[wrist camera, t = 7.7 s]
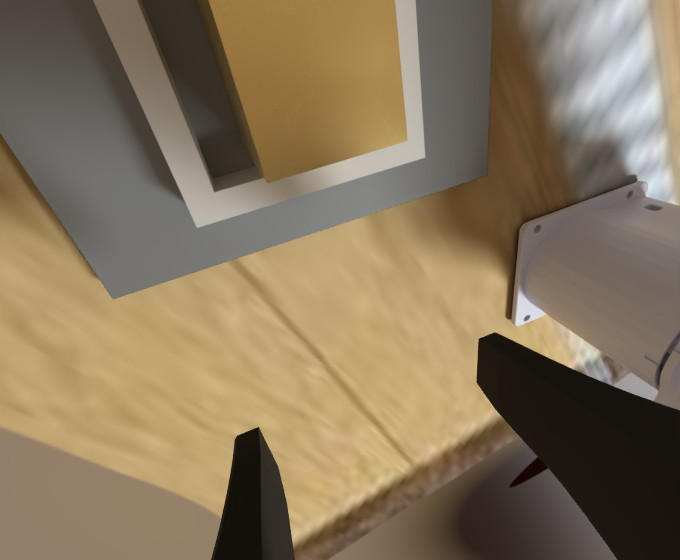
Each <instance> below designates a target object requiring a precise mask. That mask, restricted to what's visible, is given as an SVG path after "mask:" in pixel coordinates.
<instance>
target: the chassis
mask: <svg viewBox="0 0 680 560" xmlns="http://www.w3.org/2000/svg"><path fill="white" fill-rule="evenodd" d="M395 6H396V17H397V28H398V39H399V50H400V61H401V72H402V83H403V94H404V105H405V116H406V127H407V138H408V141H406V142H403V143H400V144H396V145H393V146H390V147H386V148H383V149H380V150H376V151H373V152H370V153H367V154H363V155H360V156H357V157H353V158H350V159H347V160H343V161H340V162H337V163H334V164H330V165H327V166H324V167H320V168H317V169H314V170H311V171H307V172H304V173H301V174H297V175H294V176H291V177H287V178H284V179H281V180H278V181H274V182H271V183H268V184H267V183H266V181H265V179H264V178H263V176H262V175H261V173H260V171H259V170H258V168H257V167H256V165H255V164H254V162H253V160H252V159H251V157H250V156H249V154H248V152H247V151H246V149H245V147H244V144H243V141H242V139H241V136H240V133H239V130H238V127H237V124H236V121H235V118H234V115H233V112H232V109H231V106H230V103H229V100H228V97H227V94H226V91H225V88H224V85H223V82H222V79H221V76H220V73H219V70H218V67H217V64H216V61H215V58H214V55H213V52H212V49H211V46H210V43H209V40H208V37H207V34H206V31H205V29H204V26H203V23H202V20H201V17H200V14H199V11H198V8H197V5H196V2H195V0H0V134H1V135H2V137H3V138H4V140H5V141H6V143H7V144H8V146H9V147H10V149H11V150H12V152H13V153H14V155H15V156H16V158H17V159H18V160H19V162H20V163H21V165H22V166H23V168H24V169H25V171H26V172H27V174H28V175H29V177H30V178H31V180H32V181H33V182H34V184H35V185H36V187H37V188H38V190H39V191H40V193H41V194H42V196H43V197H44V199H45V200H46V202H47V203H48V205H49V206H50V207H51V209H52V210H53V212H54V213H55V215H56V216H57V218H58V219H59V221H60V222H61V224H62V225H63V227H64V228H65V229H66V231H67V232H68V234H69V235H70V237H71V238H72V240H73V241H74V243H75V244H76V246H77V247H78V249H79V250H80V251H81V253H82V254H83V256H84V257H85V259H86V260H87V262H88V263H89V265H90V266H91V268H92V269H93V271H94V272H95V274H96V275H97V276H98V278H99V279H100V281H101V282H102V284H103V285H104V287H105V288H106V290H107V291H108V293H109V294H110V296H111V297H112V298H113V299H115V298H118V297H121V296H125V295H128V294H131V293H134V292H137V291H140V290H143V289H146V288H149V287H152V286H155V285H158V284H161V283H164V282H167V281H170V280H173V279H176V278H179V277H182V276H185V275H188V274H191V273H194V272H197V271H200V270H203V269H206V268H209V267H212V266H215V265H218V264H221V263H224V262H227V261H230V260H234V259H237V258H240V257H243V256H246V255H249V254H252V253H255V252H258V251H261V250H264V249H267V248H270V247H273V246H276V245H279V244H282V243H285V242H288V241H291V240H294V239H297V238H300V237H303V236H306V235H309V234H312V233H315V232H318V231H321V230H324V229H327V228H330V227H333V226H336V225H339V224H343V223H346V222H349V221H352V220H355V219H358V218H361V217H364V216H367V215H370V214H373V213H376V212H379V211H382V210H385V209H388V208H391V207H394V206H397V205H400V204H403V203H406V202H409V201H412V200H415V199H418V198H421V197H424V196H427V195H430V194H433V193H436V192H439V191H442V190H445V189H448V188H452V187H455V186H458V185H461V184H464V183H467V182H470V181H473V180H476V179H479V178H482V177H485V176H487V170H488V140H489V110H490V79H491V49H492V18H493V0H395Z"/></svg>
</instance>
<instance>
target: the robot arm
mask: <svg viewBox="0 0 680 560" xmlns="http://www.w3.org/2000/svg"><path fill="white" fill-rule="evenodd" d="M647 189H648V184H647V182H644V181H638V182H635V183H632V184H630V185H627V186H624V187H621V188H619V189H616V190H613V191H610V192H608V193H605V194H602V195H599V196H597V197H594V198H591V199H588V200H586V201H583V202H580V203H578V204H575V205H572V206H569V207H567V208H564V209H561V210H558V211H556V212H553V213H550V214H547V215H545V216H542V217H539V218H536V219H534V220H531V221H528V222H526V223H524V224H523V225H522V226H521V228H520V231H519V242H518V253H517V264H516V275H515V286H514V297H513V308H512V319H511V321H512V323H513V324H514V325H515V326H520V325H523V324H525V323H527V322H530V321H532V320H534V319H537V318H539V317H542V316H544V315H546V314H547V315H549V316H550V317H551V318H553V319H554V320H556V321H557V322H559V323H560V324H562V325H563V326H565V327H566V328H568V329H569V330H570V331H572V332H573V333H575V334H576V335H578V336H579V337H581V338H582V339H584V340H585V341H586V342H588V343H589V344H591V345H592V346H594V347H595V348H597V349H598V350H600V351H601V352H603V353H604V354H605V355H607V356H608V357H610V358H611V359H613V360H614V361H616V362H617V363H619V364H620V365H622V366H623V367H624V368H626V369H627V370H629V371H630V372H632V373H633V374H635V375H636V376H638V377H639V378H640V379H642V380H643V381H645V382H646V383H648V384H649V385H651V386H652V387H654V388H655V389H657V390H658V394H657V396H656V398H655V399H654V401H651V400H648V399H645V398H642V397H640V396H637V395H634V394H631V393H629V392H626V391H623V390H621V389H618V388H616V387H613V386H611V385H609V384H606V383H604V382H601V381H599V380H596V379H594V378H592V377H589V376H587V375H585V374H582V373H580V372H578V371H576V370H573V369H571V368H569V367H567V366H564V365H562V364H560V363H558V362H556V361H554V360H552V359H549V358H547V357H545V356H543V355H541V354H539V353H537V352H535V351H533V350H531V349H529V348H527V347H525V346H523V345H520V344H518V343H516V342H514V341H512V340H510V339H508V338H506V337H504V336H502V335H500V334H498V333H492V334H490V335H487V336H485V337H482V338H480V339H479V342H478V363H477V384H478V385H479V387H480V388H481V389H482V391H483V392H484V394H485V395H486V397H487V398H488V400H489V401H490V402H491V404H492V405H493V406H494V408H495V409H496V410H497V412H498V413H499V414H500V415H501V416H502V417H503V418H504V420H505V421H506V422H507V423H508V424H509V425H510V426H511V427H512V429H513V430H514V431H515V432H516V433H517V434H518V435H519V436H520V437H521V438H522V440H523V441H524V442H525V443H526V444H527V445H528V446H529V447H530V448H531V449H532V450H533V452H534V453H535V454H536V455H537V456H538V457H539V458H540V459H541V461H542V462H543V463H544V464H545V465H546V466H547V467H548V468H549V469H550V471H551V472H552V473H553V474H554V475H555V476H556V478H557V479H558V480H559V481H560V482H561V483H562V485H563V486H564V487H565V489H566V490H567V491H568V493H569V494H570V495H571V497H572V498H573V499H574V501H575V502H576V503H577V505H578V506H579V507H580V508H581V510H582V511H583V512H584V514H585V515H586V516H587V518H588V519H589V521H590V522H591V523H592V525H593V526H594V527H595V529H596V530H597V532H598V533H599V534H600V536H601V537H602V538H603V540H604V541H605V542H606V544H607V545H608V547H609V548H610V549H611V551H612V552H613V554H614V555H615V557H616V558H617V559H618V560H680V206H678V205H674V204H670V203H667V202H663V201H659V200H656V199H652V198H648V197H645V196H646V192H647ZM535 227H536V228H535ZM211 560H295V558H294V551H293V544H292V536H291V529H290V522H289V515H288V508H287V502H286V498H285V493H284V489H283V485H282V481H281V477H280V472H279V468H278V465H277V463H276V461H275V459H274V457H273V455H272V453H271V451H270V449H269V447H268V445H267V443H266V441H265V439H264V437H263V435H262V433H261V431H260V429H259V427H258V428H255V429H253V430H250V431H248V432H245V433H243V434H240V435H238V436H237V437H236V439H235V443H234V453H233V460H232V467H231V473H230V479H229V485H228V490H227V495H226V500H225V505H224V509H223V514H222V519H221V524H220V528H219V532H218V536H217V540H216V544H215V547H214V551H213V555H212V559H211Z"/></svg>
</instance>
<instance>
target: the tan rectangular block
mask: <svg viewBox="0 0 680 560" xmlns="http://www.w3.org/2000/svg"><path fill="white" fill-rule="evenodd" d="M195 2H196V5H197V8H198V11H199V14H200V17H201V20H202V23H203V26H204V29H205V31H206V34H207V37H208V40H209V43H210V46H211V49H212V52H213V55H214V58H215V61H216V64H217V67H218V70H219V73H220V76H221V79H222V82H223V85H224V88H225V91H226V94H227V97H228V100H229V103H230V106H231V109H232V112H233V115H234V118H235V121H236V124H237V127H238V130H239V133H240V136H241V139H242V141H243V144H244V147H245V149H246V151H247V152H248V154H249V156H250V157H251V159H252V160H253V162H254V164H255V165H256V167H257V168H258V170H259V171H260V173H261V175H262V176H263V178H264V179H265V181H266V183H267V184H268V183H271V182H274V181H278V180H281V179H284V178H287V177H291V176H294V175H297V174H301V173H304V172H307V171H311V170H314V169H317V168H320V167H324V166H327V165H330V164H334V163H337V162H340V161H343V160H347V159H350V158H353V157H357V156H360V155H363V154H367V153H370V152H373V151H376V150H380V149H383V148H386V147H390V146H393V145H396V144H400V143H403V142H406V141H408V138H407V127H406V116H405V105H404V94H403V83H402V72H401V61H400V50H399V39H398V28H397V17H396V6H395V0H195Z"/></svg>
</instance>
